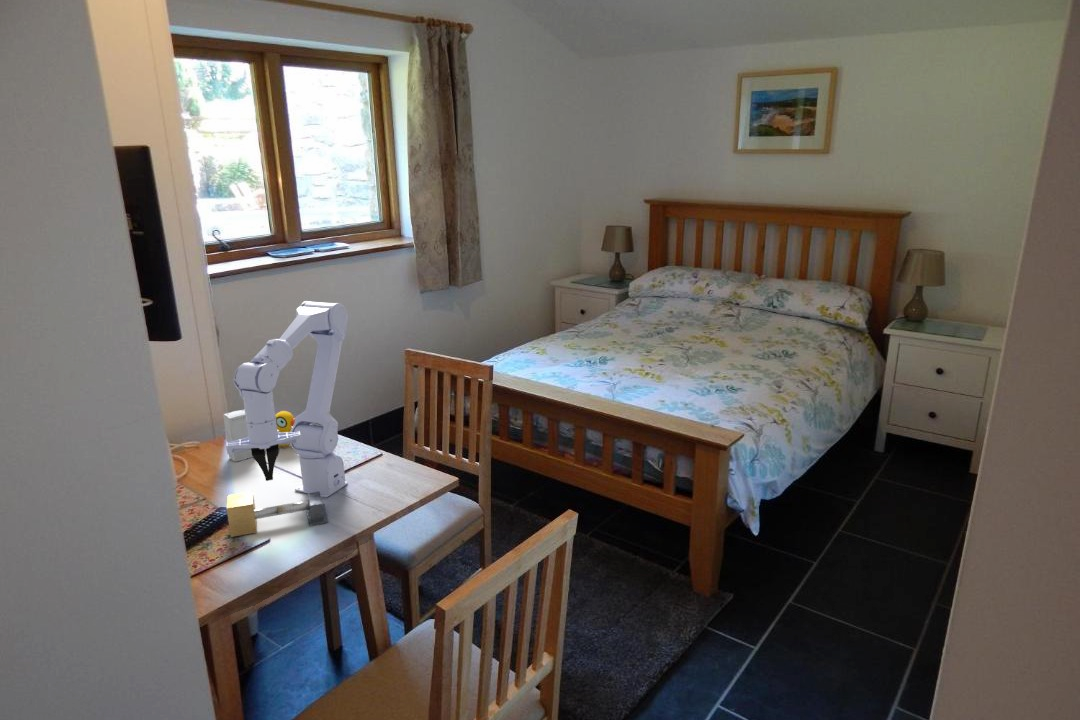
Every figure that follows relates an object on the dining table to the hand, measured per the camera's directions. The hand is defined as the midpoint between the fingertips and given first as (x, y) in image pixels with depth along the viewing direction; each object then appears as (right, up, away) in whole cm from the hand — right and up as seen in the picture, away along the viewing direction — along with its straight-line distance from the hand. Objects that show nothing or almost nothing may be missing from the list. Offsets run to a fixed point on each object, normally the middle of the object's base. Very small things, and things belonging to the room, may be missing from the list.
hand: (269, 478), depth 151 cm
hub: (-5, -11, -1) cm, 12 cm away
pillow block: (+9, -9, +4) cm, 13 cm away
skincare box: (-20, 0, +34) cm, 40 cm away
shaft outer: (-3, -8, -1) cm, 9 cm away
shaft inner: (+6, -7, +2) cm, 10 cm away
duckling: (-12, +2, +40) cm, 42 cm away
